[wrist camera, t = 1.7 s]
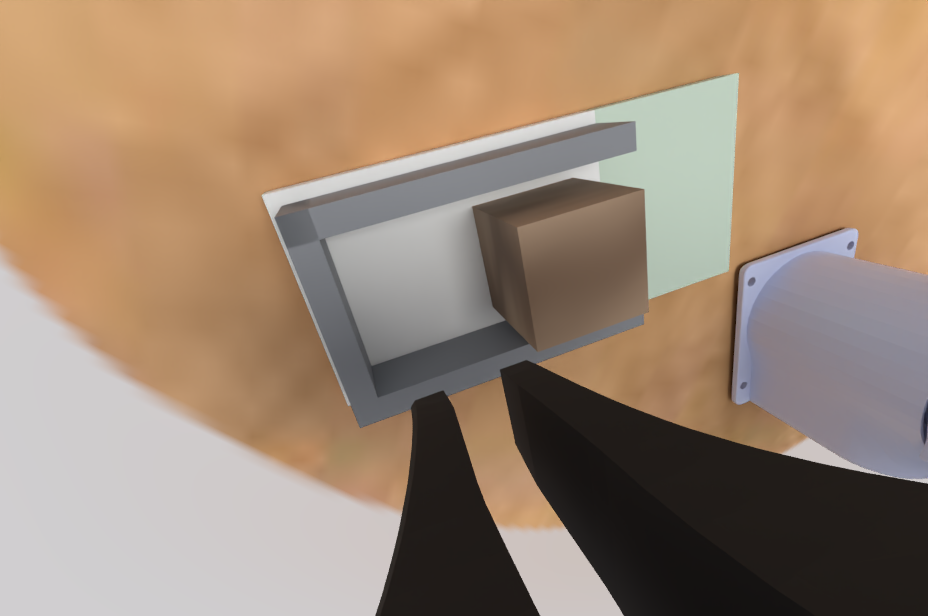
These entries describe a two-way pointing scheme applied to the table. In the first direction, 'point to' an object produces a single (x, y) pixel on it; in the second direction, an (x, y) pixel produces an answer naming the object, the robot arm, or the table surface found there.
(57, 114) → the table surface
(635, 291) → the walnut cube
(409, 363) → the bay board
